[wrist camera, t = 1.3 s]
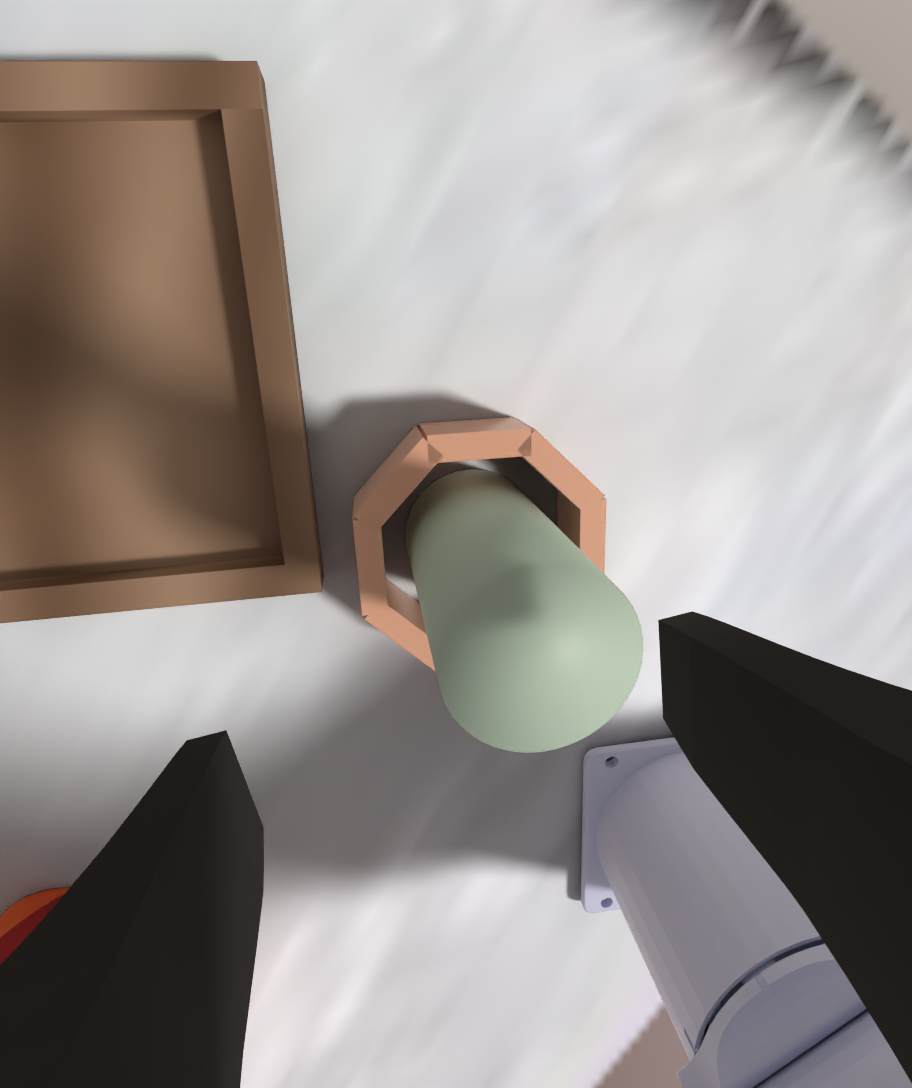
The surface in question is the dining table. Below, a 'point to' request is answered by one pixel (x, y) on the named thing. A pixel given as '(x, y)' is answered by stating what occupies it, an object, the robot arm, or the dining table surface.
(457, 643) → the green pin
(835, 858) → the robot arm
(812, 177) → the dining table surface
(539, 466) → the orange octagonal ring
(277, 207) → the serving tray
